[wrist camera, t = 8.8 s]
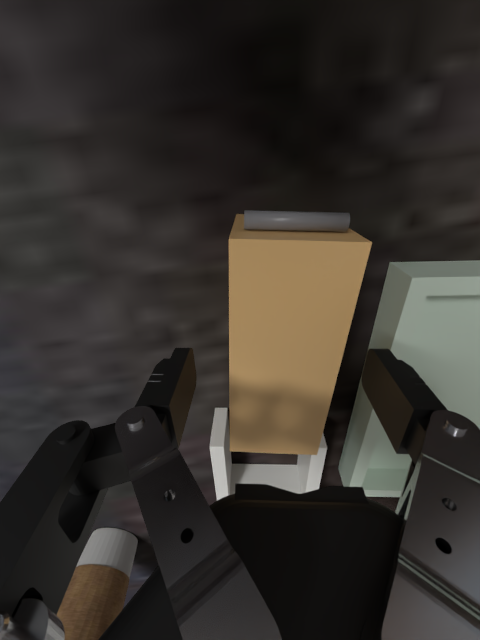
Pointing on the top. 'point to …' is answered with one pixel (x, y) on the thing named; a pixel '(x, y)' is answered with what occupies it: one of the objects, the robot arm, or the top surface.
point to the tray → (418, 361)
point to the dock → (260, 465)
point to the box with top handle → (288, 324)
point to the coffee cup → (98, 584)
